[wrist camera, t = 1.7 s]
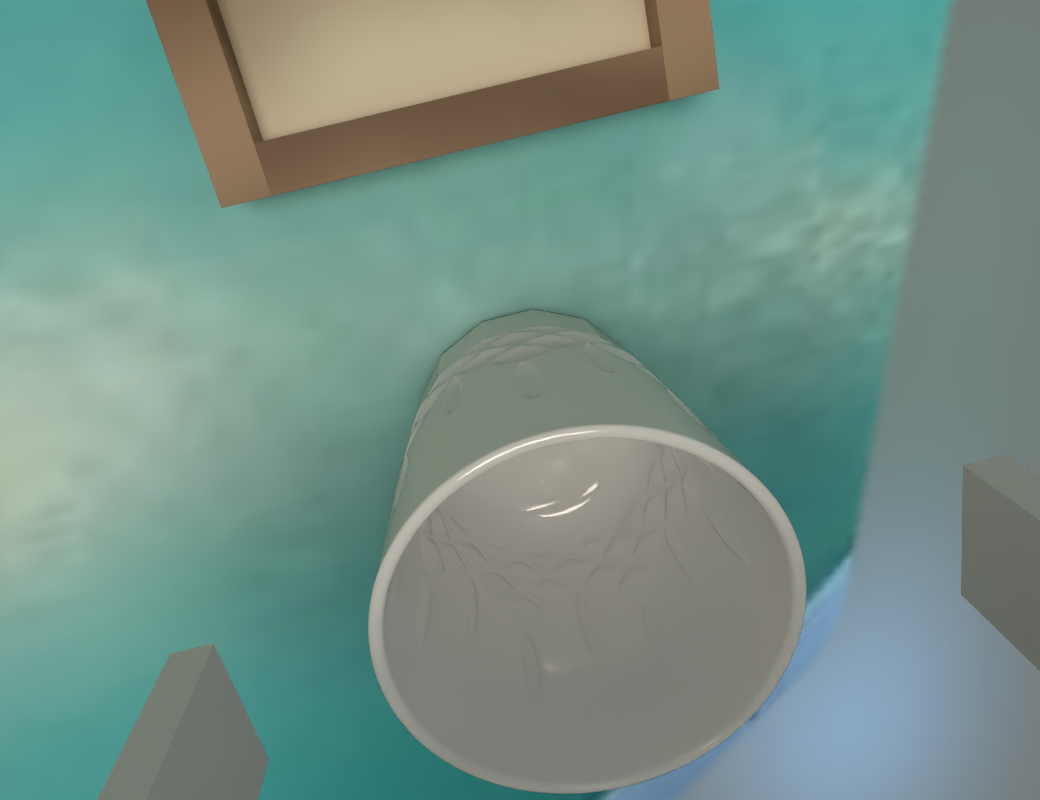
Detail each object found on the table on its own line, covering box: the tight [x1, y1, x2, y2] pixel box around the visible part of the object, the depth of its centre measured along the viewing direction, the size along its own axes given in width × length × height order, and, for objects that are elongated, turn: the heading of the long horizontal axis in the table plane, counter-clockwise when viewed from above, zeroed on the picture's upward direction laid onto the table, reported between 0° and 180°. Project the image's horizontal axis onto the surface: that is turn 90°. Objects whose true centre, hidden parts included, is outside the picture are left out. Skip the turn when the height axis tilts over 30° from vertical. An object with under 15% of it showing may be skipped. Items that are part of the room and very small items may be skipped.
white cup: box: [368, 309, 806, 794], centre depth 18 cm, size 8×8×10 cm
